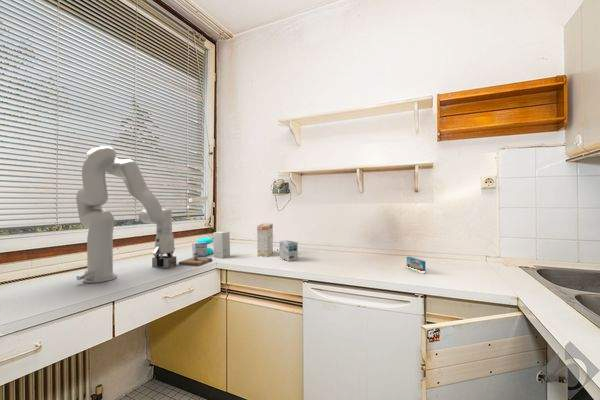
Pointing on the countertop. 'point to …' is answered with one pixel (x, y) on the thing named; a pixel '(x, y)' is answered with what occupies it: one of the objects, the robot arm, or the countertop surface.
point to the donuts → (208, 241)
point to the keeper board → (195, 261)
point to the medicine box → (199, 249)
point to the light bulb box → (289, 250)
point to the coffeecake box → (264, 239)
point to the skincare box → (221, 244)
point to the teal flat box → (416, 263)
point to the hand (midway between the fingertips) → (164, 264)
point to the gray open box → (165, 262)
